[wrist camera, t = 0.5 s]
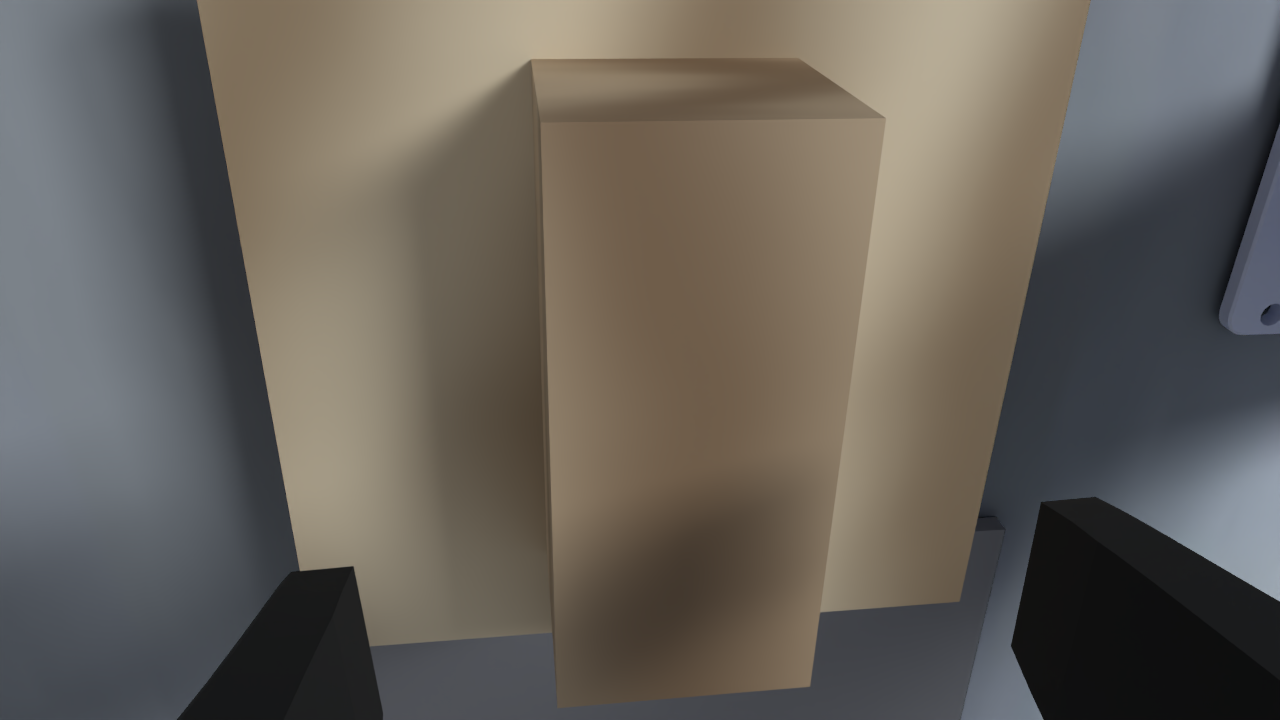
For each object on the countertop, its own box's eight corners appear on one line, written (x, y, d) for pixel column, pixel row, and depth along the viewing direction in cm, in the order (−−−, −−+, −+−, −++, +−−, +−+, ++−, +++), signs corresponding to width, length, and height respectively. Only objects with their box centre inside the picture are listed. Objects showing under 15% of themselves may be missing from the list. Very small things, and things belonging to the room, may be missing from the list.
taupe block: (1080, -88, 15) (1295, -65, 11) (944, 576, 21) (1050, 749, 17) (195, -100, 13) (65, -80, 9) (321, 622, 19) (273, 824, 15)
